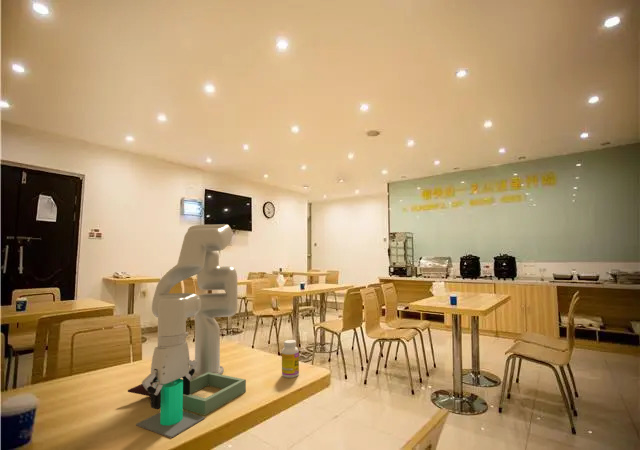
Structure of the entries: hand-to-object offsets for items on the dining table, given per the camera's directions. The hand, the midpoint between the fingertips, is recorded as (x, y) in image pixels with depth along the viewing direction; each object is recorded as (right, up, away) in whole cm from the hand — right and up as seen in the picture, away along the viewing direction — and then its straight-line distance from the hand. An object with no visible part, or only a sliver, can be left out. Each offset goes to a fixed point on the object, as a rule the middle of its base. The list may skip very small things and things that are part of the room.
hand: (171, 400), depth 93 cm
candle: (0, -6, 0) cm, 6 cm away
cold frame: (+5, -7, +15) cm, 17 cm away
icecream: (-13, -8, +16) cm, 22 cm away
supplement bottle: (+31, -8, +33) cm, 46 cm away
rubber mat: (0, -6, -1) cm, 6 cm away
